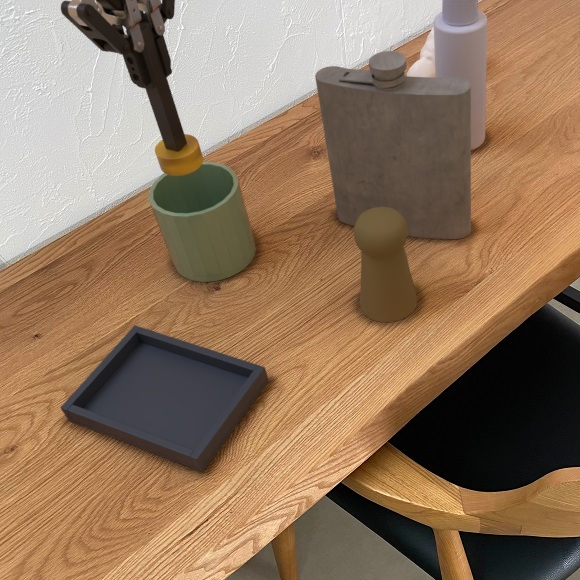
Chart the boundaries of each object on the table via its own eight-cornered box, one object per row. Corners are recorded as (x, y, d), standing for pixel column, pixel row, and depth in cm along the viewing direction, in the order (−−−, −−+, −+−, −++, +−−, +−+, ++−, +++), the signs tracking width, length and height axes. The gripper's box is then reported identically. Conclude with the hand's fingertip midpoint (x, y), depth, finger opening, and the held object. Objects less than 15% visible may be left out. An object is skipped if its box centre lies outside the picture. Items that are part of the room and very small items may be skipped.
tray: (68, 421, 76) (59, 407, 75) (141, 339, 83) (134, 324, 81) (202, 472, 71) (196, 459, 70) (269, 381, 78) (264, 366, 76)
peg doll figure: (405, 327, 81) (398, 242, 72) (351, 315, 83) (337, 231, 74) (425, 288, 84) (419, 203, 76) (372, 277, 86) (361, 193, 78)
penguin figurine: (485, 9, 104) (424, 55, 100) (488, 68, 111) (431, 113, 107) (448, -4, 107) (388, 40, 103) (453, 55, 114) (397, 98, 110)
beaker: (157, 270, 89) (130, 204, 82) (203, 220, 95) (182, 154, 88) (226, 290, 86) (205, 224, 79) (271, 237, 92) (254, 171, 85)
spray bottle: (494, 144, 100) (499, -41, 83) (451, 159, 99) (448, -26, 82) (470, 121, 104) (470, -60, 87) (429, 135, 102) (421, -46, 85)
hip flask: (473, 223, 91) (474, 53, 75) (465, 246, 88) (463, 76, 73) (343, 205, 94) (317, 40, 79) (331, 226, 92) (303, 61, 77)
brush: (151, 171, 81) (102, 35, 70) (176, 147, 83) (133, 12, 72) (187, 179, 79) (143, 43, 69) (211, 155, 82) (172, 19, 71)
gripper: (102, -165, 66) (164, 40, 79) (-15, -103, 58) (76, 112, 72) (176, -159, 64) (227, 51, 77) (64, -94, 56) (143, 127, 69)
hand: (154, 80), depth 74 cm, fingers closed on brush
